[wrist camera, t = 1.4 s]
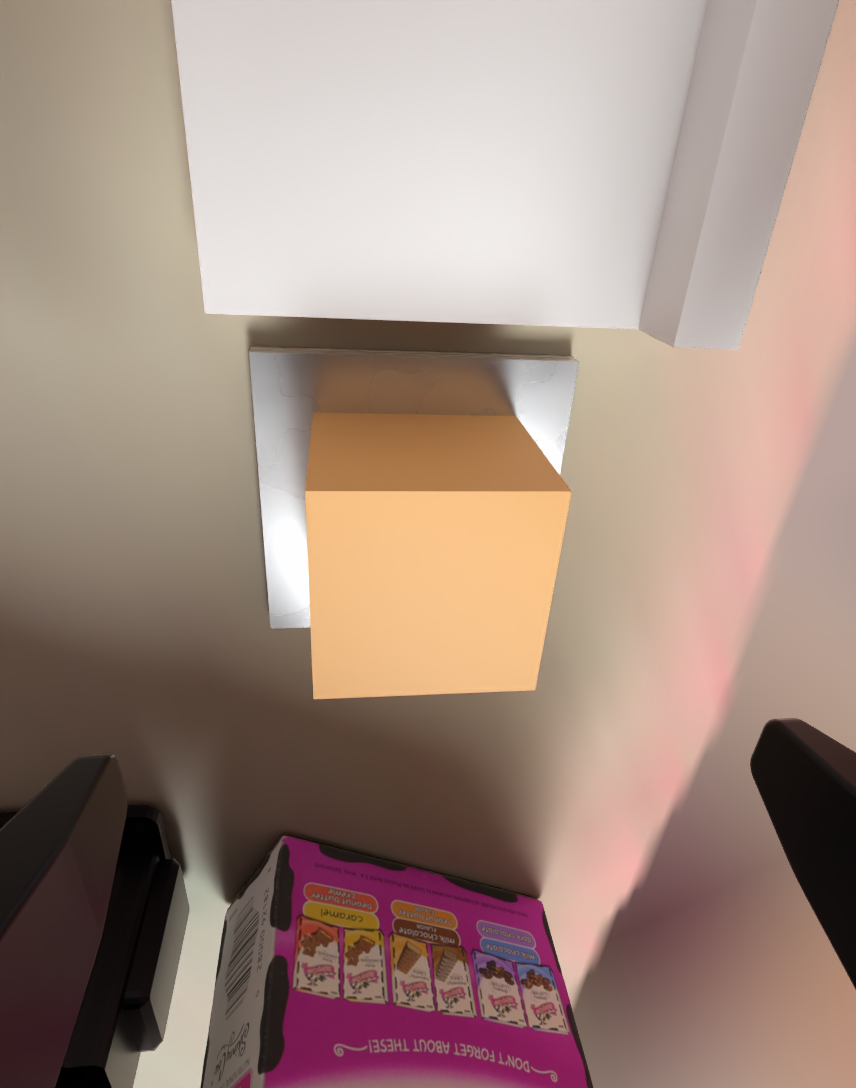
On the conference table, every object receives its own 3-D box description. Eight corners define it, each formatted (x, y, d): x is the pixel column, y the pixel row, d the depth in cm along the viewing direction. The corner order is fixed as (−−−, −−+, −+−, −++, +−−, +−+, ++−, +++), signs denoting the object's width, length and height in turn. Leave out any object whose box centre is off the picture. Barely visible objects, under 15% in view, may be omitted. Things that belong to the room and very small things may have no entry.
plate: (272, 617, 17) (270, 628, 17) (252, 346, 14) (249, 351, 13) (530, 610, 18) (534, 621, 18) (571, 355, 15) (578, 361, 14)
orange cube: (318, 586, 16) (313, 699, 13) (313, 412, 14) (305, 491, 10) (494, 583, 17) (534, 690, 13) (516, 415, 15) (571, 491, 11)
